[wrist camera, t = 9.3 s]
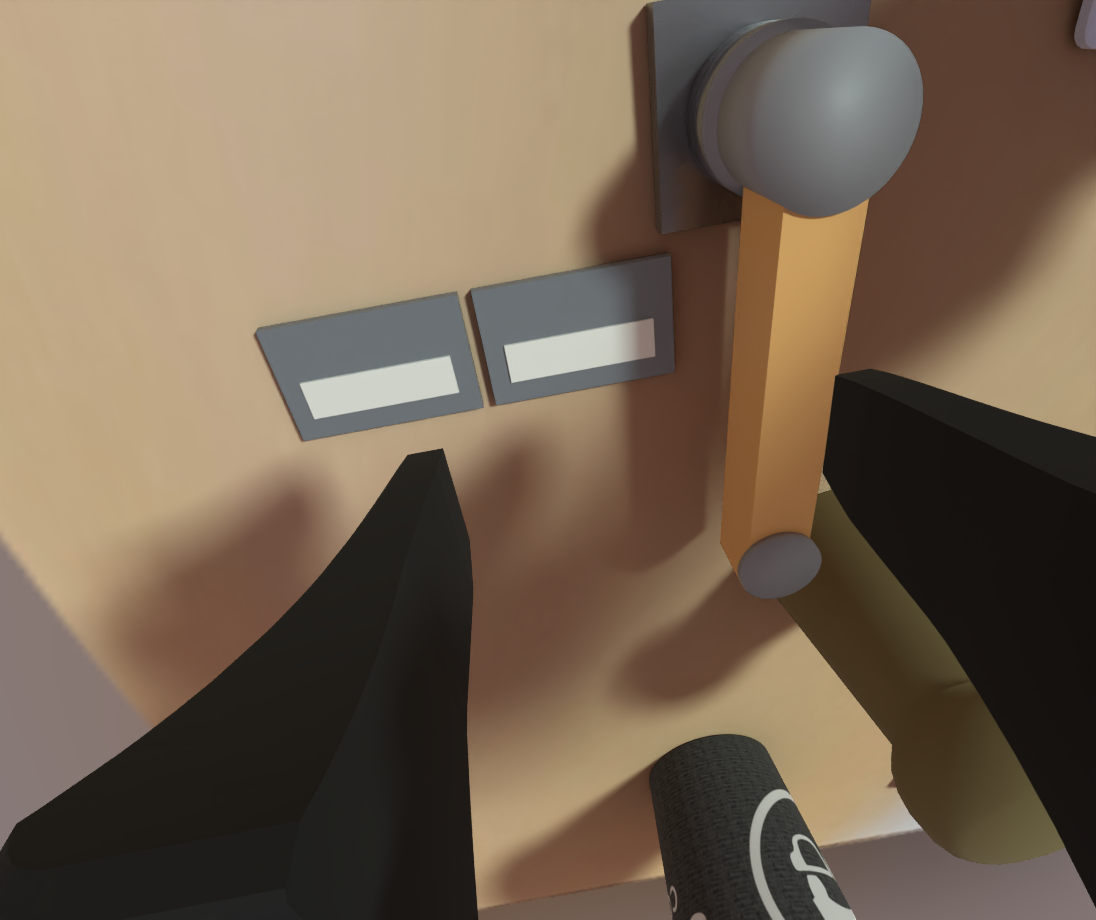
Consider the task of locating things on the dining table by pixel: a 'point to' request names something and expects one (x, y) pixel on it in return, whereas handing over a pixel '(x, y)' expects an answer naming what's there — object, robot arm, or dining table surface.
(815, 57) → the swing arm
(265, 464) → the dining table surface
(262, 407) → the dining table surface
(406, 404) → the label
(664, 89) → the square flange plate
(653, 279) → the label
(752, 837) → the coffee cup
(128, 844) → the robot arm
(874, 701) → the olive cylinder
